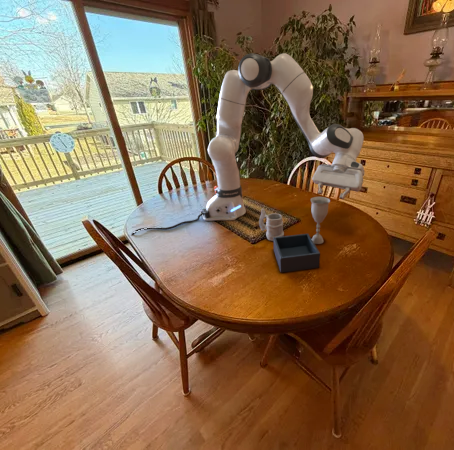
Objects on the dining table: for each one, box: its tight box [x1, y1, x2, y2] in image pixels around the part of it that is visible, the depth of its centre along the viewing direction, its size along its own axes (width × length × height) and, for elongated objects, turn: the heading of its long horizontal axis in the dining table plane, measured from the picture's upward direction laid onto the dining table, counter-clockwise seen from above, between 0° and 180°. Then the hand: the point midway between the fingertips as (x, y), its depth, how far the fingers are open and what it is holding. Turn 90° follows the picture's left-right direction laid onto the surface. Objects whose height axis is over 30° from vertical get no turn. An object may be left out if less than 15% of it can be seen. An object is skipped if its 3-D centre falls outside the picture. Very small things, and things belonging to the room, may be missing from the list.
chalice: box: [310, 196, 331, 245], centre depth 93 cm, size 7×7×18 cm
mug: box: [258, 207, 285, 242], centre depth 99 cm, size 8×12×12 cm, turn 54°
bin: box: [272, 233, 321, 273], centre depth 86 cm, size 14×14×6 cm
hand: (330, 196), depth 95 cm, fingers open, 8 cm apart
